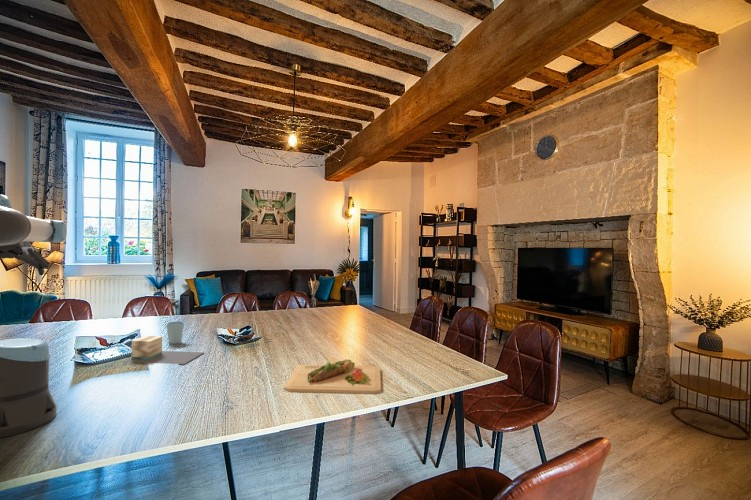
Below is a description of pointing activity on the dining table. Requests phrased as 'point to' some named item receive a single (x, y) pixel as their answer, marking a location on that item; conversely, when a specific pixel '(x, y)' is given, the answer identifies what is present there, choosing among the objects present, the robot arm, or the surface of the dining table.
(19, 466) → the dining table surface
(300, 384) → the cutting board
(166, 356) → the rubber mat
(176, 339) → the cup
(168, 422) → the dining table surface
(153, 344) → the maple cube
